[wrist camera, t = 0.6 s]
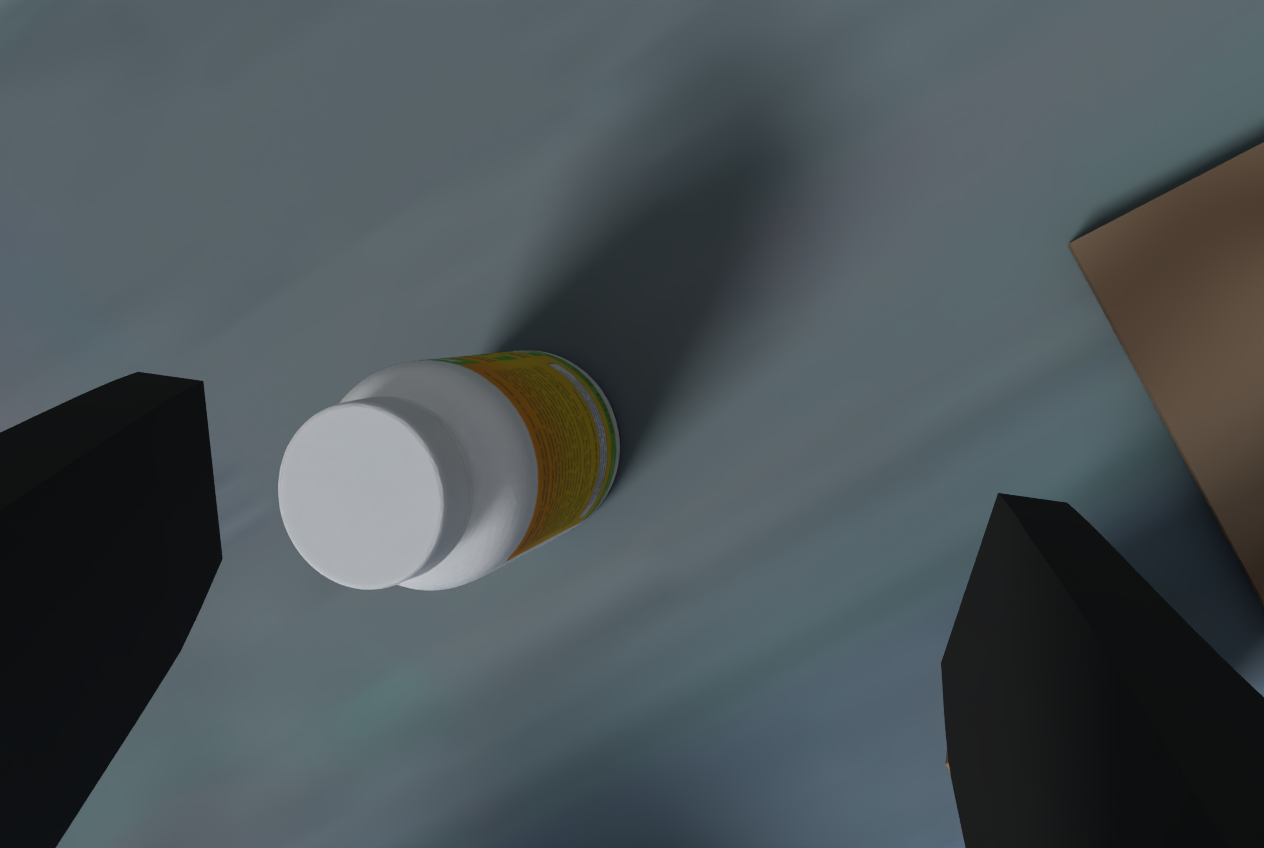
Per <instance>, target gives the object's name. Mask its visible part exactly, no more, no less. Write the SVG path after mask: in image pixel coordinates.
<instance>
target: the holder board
mask: <svg viewBox="0 0 1264 848" xmlns="http://www.w3.org/2000/svg"><path fill="white" fill-rule="evenodd" d="M1068 247H1069V248H1070V250H1071V252H1072V254H1073V256H1074V258H1075V260H1076V261H1077V263H1078V265H1079V267H1080V269H1081V271H1082V272H1083V274H1084V276H1085V278H1086V280H1087V282H1088V284H1089V285H1090V287H1091V289H1092V291H1093V293H1094V295H1095V297H1096V298H1097V300H1098V302H1099V304H1100V306H1101V308H1102V310H1103V311H1104V313H1105V315H1106V317H1107V319H1108V321H1109V323H1110V324H1111V326H1112V328H1113V330H1114V332H1115V334H1116V335H1117V337H1118V339H1119V341H1120V343H1121V345H1122V347H1123V348H1124V350H1125V352H1126V354H1127V356H1128V358H1129V360H1130V361H1131V363H1132V365H1133V367H1134V369H1135V371H1136V373H1137V374H1138V376H1139V378H1140V380H1141V382H1142V384H1143V385H1144V387H1145V389H1146V391H1147V393H1148V395H1149V397H1150V398H1151V400H1152V402H1153V404H1154V406H1155V408H1156V410H1157V411H1158V413H1159V415H1160V417H1161V419H1162V421H1163V423H1164V424H1165V426H1166V428H1167V430H1168V432H1169V434H1170V436H1171V437H1172V439H1173V441H1174V443H1175V445H1176V447H1177V448H1178V450H1179V452H1180V454H1181V456H1182V458H1183V460H1184V461H1185V463H1186V465H1187V467H1188V469H1189V471H1190V473H1191V474H1192V476H1193V478H1194V480H1195V482H1196V484H1197V486H1198V487H1199V489H1200V491H1201V493H1202V495H1203V497H1204V498H1205V500H1206V502H1207V504H1208V506H1209V508H1210V510H1211V511H1212V513H1213V515H1214V517H1215V519H1216V521H1217V523H1218V524H1219V526H1220V528H1221V530H1222V532H1223V534H1224V536H1225V537H1226V539H1227V541H1228V543H1229V545H1230V547H1231V549H1232V550H1233V552H1234V554H1235V556H1236V558H1237V560H1238V561H1239V563H1240V565H1241V567H1242V569H1243V571H1244V573H1245V574H1246V576H1247V578H1248V580H1249V582H1250V584H1251V586H1252V587H1253V589H1254V591H1255V593H1256V595H1257V597H1258V599H1259V600H1260V602H1261V604H1262V606H1263V608H1264V142H1263V143H1261V144H1259V145H1257V146H1255V147H1253V148H1252V149H1250V150H1248V151H1246V152H1244V153H1242V154H1240V155H1238V156H1236V157H1234V158H1232V159H1230V160H1228V161H1227V162H1225V163H1223V164H1221V165H1219V166H1217V167H1215V168H1213V169H1211V170H1209V171H1207V172H1205V173H1203V174H1202V175H1200V176H1198V177H1196V178H1194V179H1192V180H1190V181H1188V182H1186V183H1184V184H1182V185H1180V186H1178V187H1176V188H1175V189H1173V190H1171V191H1169V192H1167V193H1165V194H1163V195H1161V196H1159V197H1157V198H1155V199H1153V200H1151V201H1150V202H1148V203H1146V204H1144V205H1142V206H1140V207H1138V208H1136V209H1134V210H1132V211H1130V212H1128V213H1126V214H1125V215H1123V216H1121V217H1119V218H1117V219H1115V220H1113V221H1111V222H1109V223H1107V224H1105V225H1103V226H1101V227H1100V228H1098V229H1096V230H1094V231H1092V232H1090V233H1088V234H1086V235H1084V236H1082V237H1080V238H1078V239H1076V240H1074V241H1073V242H1071V243H1069V244H1068Z"/></svg>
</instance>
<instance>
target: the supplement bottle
mask: <svg viewBox="0 0 1264 848" xmlns="http://www.w3.org/2000/svg"><path fill="white" fill-rule="evenodd" d="M619 455H620V439H619V432H618V427H617V423H616V419H615V416H614V413H613V410H612V408H611V406H610V404H609V401H608V400H607V398H606V396H605V395H604V393H603V391H602V390H601V388H600V387H599V386H598V385H597V383H596V382H595V381H594V380H593V379H592V378H591V377H590V376H589V375H588V374H587V373H586V372H584V371H583V370H582V369H581V368H579V367H578V366H577V365H575V364H573V363H572V362H570V361H568V360H566V359H564V358H562V357H560V356H557V355H554V354H551V353H547V352H542V351H533V350H516V351H507V352H498V353H490V354H481V355H472V356H463V357H452V358H441V359H430V360H419V361H412V362H406V363H401V364H396V365H393V366H390V367H387V368H384V369H382V370H380V371H378V372H375V373H373V374H371V375H370V376H368V377H367V378H365V379H364V380H362V381H361V382H360V383H358V384H357V385H356V386H355V387H354V388H353V389H351V390H350V391H349V392H348V394H347V395H346V396H345V397H344V398H343V399H342V400H341V402H340V403H339V404H335V405H332V406H330V407H328V408H325V409H323V410H322V411H320V412H318V413H316V414H315V415H314V416H312V417H311V418H310V419H308V420H307V421H306V422H305V423H304V424H303V425H302V426H301V427H300V428H299V429H298V431H297V432H296V434H295V435H294V436H293V438H292V440H291V441H290V443H289V445H288V447H287V449H286V451H285V454H284V457H283V460H282V464H281V467H280V473H279V482H278V493H279V504H280V511H281V516H282V519H283V521H284V525H285V527H286V530H287V532H288V534H289V537H290V538H291V540H292V542H293V544H294V546H295V547H296V548H297V550H298V551H299V553H300V554H301V555H302V556H303V558H304V559H305V560H306V561H307V562H308V563H309V564H310V565H311V566H312V567H313V568H314V569H316V570H317V571H318V572H319V573H321V574H322V575H324V576H326V577H327V578H329V579H330V580H332V581H334V582H336V583H339V584H342V585H344V586H348V587H352V588H357V589H369V590H372V589H382V588H387V587H390V586H394V585H400V586H403V587H407V588H411V589H417V590H443V589H448V588H454V587H457V586H461V585H464V584H467V583H469V582H472V581H474V580H477V579H479V578H481V577H483V576H485V575H487V574H489V573H491V572H493V571H494V570H496V569H498V568H500V567H502V566H504V565H506V564H507V563H509V562H511V561H513V560H515V559H517V558H519V557H521V556H523V555H524V554H526V553H528V552H530V551H532V550H534V549H536V548H538V547H540V546H542V545H544V544H546V543H547V542H549V541H551V540H553V539H555V538H557V537H559V536H561V535H563V534H565V533H566V532H568V531H570V530H572V529H573V528H575V527H576V526H578V525H579V524H581V523H583V522H584V521H585V520H586V519H588V518H589V517H590V516H591V515H592V514H593V513H594V512H595V511H596V510H597V508H598V507H599V506H600V505H601V503H602V502H603V501H604V499H605V498H606V496H607V494H608V492H609V490H610V488H611V486H612V484H613V481H614V479H615V476H616V473H617V468H618V463H619Z"/></svg>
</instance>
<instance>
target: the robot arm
mask: <svg viewBox="0 0 1264 848" xmlns="http://www.w3.org/2000/svg"><path fill="white" fill-rule="evenodd" d="M221 561H222V549H221V540H220V531H219V522H218V513H217V503H216V494H215V485H214V476H213V467H212V457H211V448H210V439H209V430H208V420H207V411H206V402H205V393H204V384H203V381H199V380H192V379H185V378H178V377H171V376H163V375H156V374H149V373H142V372H136V373H133V374H131V375H128V376H125V377H122V378H120V379H117V380H114V381H112V382H110V383H107V384H105V385H102V386H100V387H98V388H95V389H93V390H91V391H89V392H86V393H84V394H82V395H80V396H78V397H75V398H73V399H71V400H69V401H67V402H64V403H62V404H60V405H58V406H56V407H54V408H52V409H49V410H47V411H45V412H43V413H41V414H39V415H37V416H35V417H32V418H30V419H28V420H26V421H24V422H22V423H20V424H18V425H16V426H13V427H11V428H9V429H7V430H5V431H3V432H1V433H0V848H56V846H57V845H58V843H59V842H60V840H61V839H62V837H63V835H64V834H65V832H66V831H67V829H68V828H69V826H70V825H71V823H72V821H73V820H74V818H75V817H76V815H77V814H78V812H79V810H80V809H81V807H82V806H83V804H84V803H85V801H86V800H87V798H88V796H89V795H90V793H91V792H92V790H93V789H94V787H95V786H96V784H97V782H98V781H99V779H100V778H101V776H102V775H103V773H104V772H105V770H106V768H107V767H108V765H109V764H110V762H111V761H112V759H113V758H114V756H115V754H116V753H117V751H118V750H119V748H120V747H121V745H122V744H123V742H124V740H125V739H126V737H127V736H128V734H129V733H130V731H131V730H132V728H133V726H134V725H135V723H136V722H137V720H138V719H139V717H140V715H141V714H142V712H143V711H144V709H145V707H146V706H147V704H148V703H149V701H150V699H151V698H152V696H153V695H154V693H155V692H156V690H157V688H158V687H159V685H160V684H161V682H162V680H163V679H164V677H165V676H166V674H167V672H168V671H169V669H170V668H171V666H172V664H173V663H174V661H175V659H176V658H177V656H178V654H179V653H180V651H181V649H182V647H183V645H184V643H185V641H186V639H187V637H188V635H189V632H190V630H191V628H192V626H193V624H194V622H195V620H196V618H197V616H198V613H199V611H200V609H201V607H202V605H203V602H204V600H205V598H206V595H207V593H208V591H209V589H210V586H211V584H212V582H213V579H214V577H215V575H216V572H217V570H218V568H219V566H220V563H221ZM941 669H942V685H943V701H944V717H945V729H946V740H947V752H948V763H949V768H950V774H951V779H952V784H953V789H954V794H955V799H956V803H957V808H958V813H959V818H960V823H961V828H962V832H963V837H964V842H965V847H966V848H1264V697H1263V696H1262V695H1261V694H1260V693H1259V692H1257V691H1256V690H1255V689H1254V688H1253V687H1252V686H1251V685H1250V684H1249V683H1248V682H1247V681H1246V680H1245V679H1244V678H1243V677H1242V676H1241V675H1239V674H1238V673H1237V672H1236V671H1235V670H1234V669H1233V668H1232V667H1231V666H1230V665H1229V664H1228V663H1227V662H1226V661H1225V660H1224V659H1223V658H1222V657H1221V656H1220V655H1219V654H1218V653H1217V652H1216V651H1215V650H1214V649H1213V648H1212V647H1211V646H1210V645H1209V644H1208V643H1207V642H1206V641H1205V640H1204V639H1203V638H1202V637H1201V636H1200V635H1199V634H1198V633H1197V632H1196V631H1195V630H1194V629H1193V628H1192V627H1191V626H1190V625H1189V624H1188V623H1187V622H1186V621H1185V620H1184V619H1183V618H1182V617H1181V616H1180V615H1179V614H1178V613H1177V612H1176V611H1175V610H1174V609H1173V608H1172V607H1171V606H1170V605H1169V604H1168V603H1167V602H1166V601H1165V600H1164V599H1163V598H1162V597H1161V596H1160V595H1159V594H1158V593H1157V592H1156V591H1155V590H1154V589H1153V588H1152V587H1151V586H1150V585H1149V584H1148V583H1147V582H1146V580H1145V579H1144V578H1143V577H1142V576H1141V575H1140V574H1139V573H1138V572H1137V571H1136V570H1135V569H1134V568H1133V567H1132V566H1131V565H1130V564H1129V563H1128V562H1127V561H1126V560H1125V559H1124V558H1123V557H1122V556H1121V555H1120V554H1119V553H1118V552H1117V551H1116V550H1115V549H1114V548H1113V547H1112V545H1111V544H1110V543H1109V542H1108V541H1107V540H1106V539H1105V538H1104V537H1103V536H1102V535H1101V534H1100V533H1099V532H1098V531H1097V530H1096V529H1095V528H1094V527H1093V526H1092V525H1091V524H1090V523H1089V522H1088V521H1087V520H1085V519H1084V518H1083V517H1082V516H1081V515H1080V514H1079V513H1078V512H1077V511H1076V510H1075V509H1074V508H1072V507H1071V506H1070V505H1069V504H1068V503H1065V502H1058V501H1051V500H1044V499H1037V498H1030V497H1023V496H1016V495H1009V494H1002V493H998V495H997V498H996V501H995V504H994V507H993V510H992V513H991V516H990V519H989V522H988V525H987V528H986V531H985V534H984V537H983V540H982V543H981V546H980V549H979V552H978V555H977V558H976V561H975V564H974V567H973V570H972V572H971V575H970V578H969V581H968V584H967V587H966V590H965V593H964V596H963V599H962V602H961V605H960V608H959V611H958V614H957V617H956V620H955V623H954V626H953V629H952V632H951V635H950V638H949V641H948V644H947V647H946V650H945V653H944V656H943V659H942V662H941Z"/></svg>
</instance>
